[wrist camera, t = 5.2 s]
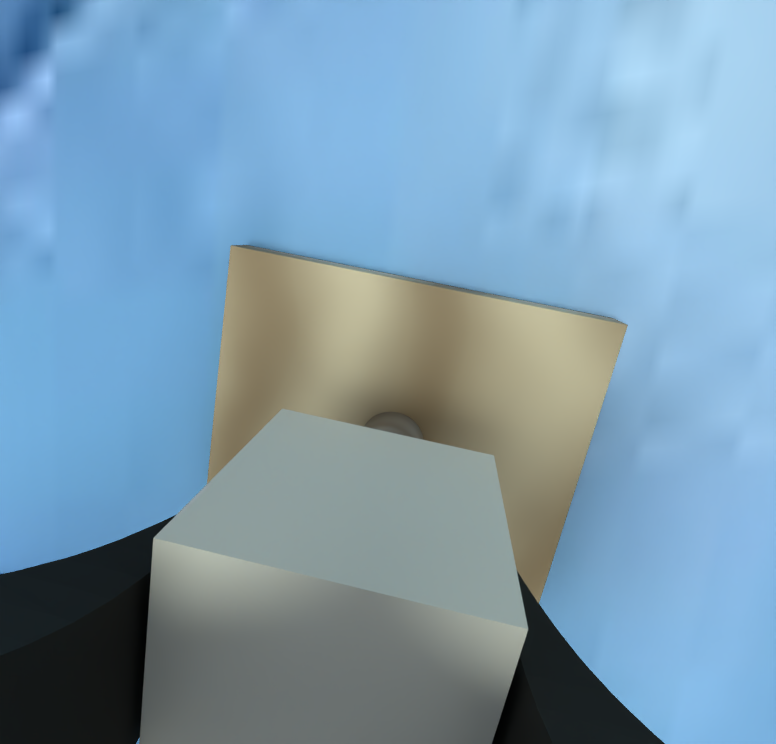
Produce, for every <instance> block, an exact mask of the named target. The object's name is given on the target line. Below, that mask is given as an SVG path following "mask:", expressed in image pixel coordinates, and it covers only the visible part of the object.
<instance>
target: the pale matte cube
mask: <svg viewBox="0 0 776 744" xmlns="http://www.w3.org/2000/svg"><path fill="white" fill-rule="evenodd" d="M527 632H528V625H527V620H526V615H525V610H524V605H523V600H522V595H521V590H520V585H519V580H518V575H517V570H516V565H515V560H514V554H513V549H512V544H511V539H510V534H509V529H508V524H507V519H506V514H505V509H504V504H503V499H502V494H501V489H500V484H499V479H498V474H497V469H496V464H495V459H494V455H490V454H485V453H481V452H476V451H472V450H467V449H463V448H458V447H454V446H449V445H445V444H440V443H436V442H431V441H427V440H422V439H418V438H413V437H409V436H404V435H400V434H395V433H390V432H386V431H381V430H377V429H372V428H368V427H363V426H359V425H354V424H350V423H345V422H341V421H336V420H332V419H327V418H323V417H318V416H314V415H309V414H305V413H300V412H295V411H291V410H286V409H281V410H280V411H279V412H278V413H277V414H276V415H275V416H274V417H273V418H272V419H271V420H270V421H269V422H268V423H267V424H266V425H265V426H264V427H263V428H262V429H261V430H260V431H259V433H258V434H257V435H256V436H255V437H254V438H253V439H252V440H251V441H250V442H249V443H248V444H247V445H246V446H245V447H244V448H243V449H242V450H241V451H240V452H239V453H238V454H237V455H236V456H235V457H234V458H233V459H232V460H231V461H230V462H229V463H228V464H227V465H226V466H225V467H224V468H223V469H222V470H221V471H220V472H219V473H218V474H217V475H216V476H215V477H214V478H213V479H212V480H211V481H210V482H209V483H208V484H207V485H206V486H205V487H204V488H203V489H202V490H201V491H200V492H199V493H198V494H197V495H196V496H195V497H194V498H193V499H192V500H191V501H190V502H189V503H188V504H187V505H186V506H185V507H184V508H183V509H182V510H181V511H180V512H179V513H178V514H177V515H176V516H175V517H174V518H173V519H172V520H171V521H170V522H169V523H168V524H167V525H166V526H165V527H164V528H163V529H162V530H161V531H160V532H159V533H158V534H157V535H156V536H155V537H154V538H153V550H152V565H151V580H150V594H149V609H148V624H147V639H146V653H145V668H144V683H143V698H142V712H141V727H140V742H139V744H492V742H493V739H494V735H495V732H496V729H497V726H498V723H499V720H500V717H501V713H502V710H503V707H504V704H505V701H506V698H507V695H508V691H509V688H510V685H511V682H512V679H513V676H514V673H515V669H516V666H517V663H518V660H519V657H520V654H521V651H522V647H523V644H524V641H525V638H526V635H527Z"/></svg>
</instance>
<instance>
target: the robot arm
mask: <svg viewBox="0 0 776 744" xmlns="http://www.w3.org/2000/svg"><path fill="white" fill-rule="evenodd" d="M175 516H176V515H175ZM175 516H173V517H171V518H169V519H167V520H164V521H162V522H160V523H158V524H156V525H153V526H151V527H149V528H146V529H144V530H141V531H139V532H137V533H134V534H132V535H130V536H127V537H125V538H123V539H120V540H118V541H115V542H112V543H110V544H107V545H104V546H101V547H99V548H96V549H93V550H90V551H87V552H84V553H81V554H78V555H74V556H71V557H68V558H64V559H61V560H57V561H53V562H49V563H45V564H42V565H38V566H34V567H30V568H26V569H23V570H19V571H15V572H10V573H5V574H1V575H0V744H136V742H137V740H138V739H139V737H140V727H141V712H142V698H143V683H144V668H145V653H146V639H147V624H148V609H149V594H150V580H151V565H152V550H153V538H154V537H155V536H156V535H157V534H158V533H159V532H160V531H161V530H162V529H163V528H164V527H165V526H166V525H167V524H168V523H169V522H170V521H171V520H172V519H173V518H174V517H175ZM517 575H518V580H519V585H520V590H521V595H522V600H523V605H524V610H525V615H526V620H527V625H528V632H527V635H526V638H525V641H524V644H523V647H522V651H521V654H520V657H519V660H518V663H517V666H516V669H515V673H514V676H513V679H512V682H511V685H510V688H509V691H508V695H507V698H506V701H505V704H504V707H503V710H502V713H501V717H500V720H499V723H498V726H497V729H496V732H495V735H494V739H493V742H492V744H665V743H663V742H662V741H661V740H660V739H659V738H658V737H657V736H656V735H654V734H653V733H652V732H651V731H650V730H649V729H648V728H647V727H646V726H645V725H644V724H643V723H642V722H641V721H639V720H638V719H637V718H636V717H635V716H634V715H633V714H632V713H631V712H630V711H629V710H628V709H627V708H626V707H625V706H624V705H623V704H622V703H621V702H620V701H619V700H618V699H617V698H616V697H615V696H614V695H613V694H612V693H611V692H610V691H609V690H608V689H607V688H606V687H605V686H604V684H603V683H602V682H601V681H600V680H599V679H598V678H597V677H596V676H595V675H594V674H593V672H592V671H591V670H590V669H589V668H588V667H587V666H586V665H585V663H584V662H583V661H582V660H581V659H580V658H579V656H578V655H577V654H576V653H575V651H574V650H573V649H572V648H571V646H570V645H569V644H568V643H567V641H566V640H565V639H564V638H563V636H562V635H561V634H560V633H559V631H558V630H557V628H556V627H555V626H554V624H553V623H552V622H551V620H550V619H549V618H548V616H547V615H546V613H545V612H544V611H543V609H542V608H541V606H540V605H539V603H538V602H537V600H536V599H535V597H534V596H533V594H532V593H531V591H530V590H529V588H528V587H527V585H526V584H525V582H524V581H523V579H522V578H521V576H520V574H519V573H518V571H517Z"/></svg>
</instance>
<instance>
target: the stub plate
mask: <svg viewBox="0 0 776 744" xmlns="http://www.w3.org/2000/svg"><path fill="white" fill-rule="evenodd" d="M627 326H628V325H626V324H624V323H622V322H620V321H618V320H616V319H614V318H609V317H604V316H599V315H594V314H589V313H584V312H579V311H574V310H569V309H564V308H559V307H554V306H549V305H544V304H539V303H534V302H529V301H524V300H519V299H514V298H509V297H504V296H499V295H494V294H489V293H484V292H479V291H474V290H469V289H464V288H459V287H454V286H449V285H444V284H439V283H434V282H429V281H424V280H419V279H414V278H409V277H404V276H399V275H394V274H389V273H384V272H379V271H374V270H369V269H364V268H359V267H354V266H349V265H344V264H339V263H334V262H329V261H324V260H319V259H314V258H309V257H304V256H299V255H294V254H289V253H284V252H279V251H274V250H269V249H264V248H259V247H254V246H249V245H231V249H230V259H229V269H228V279H227V289H226V299H225V309H224V319H223V329H222V340H221V350H220V360H219V370H218V380H217V390H216V400H215V410H214V420H213V430H212V440H211V450H210V460H209V470H208V480H207V484H208V483H209V482H210V481H211V480H212V479H213V478H214V477H215V476H216V475H217V474H218V473H219V472H220V471H221V470H222V469H223V468H224V467H225V466H226V465H227V464H228V463H229V462H230V461H231V460H232V459H233V458H234V457H235V456H236V455H237V454H238V453H239V452H240V451H241V450H242V449H243V448H244V447H245V446H246V445H247V444H248V443H249V442H250V441H251V440H252V439H253V438H254V437H255V436H256V435H257V434H258V433H259V431H260V430H261V429H262V428H263V427H264V426H265V425H266V424H267V423H268V422H269V421H270V420H271V419H272V418H273V417H274V416H275V415H276V414H277V413H278V412H279V411H280V410H281V409H286V410H291V411H295V412H300V413H305V414H309V415H314V416H318V417H323V418H327V419H332V420H336V421H341V422H345V423H350V424H354V425H359V426H363V427H368V428H372V429H377V430H381V431H386V432H390V433H395V434H400V435H404V436H409V437H413V438H418V439H422V440H427V441H431V442H436V443H440V444H445V445H449V446H454V447H458V448H463V449H467V450H472V451H476V452H481V453H485V454H490V455H494V459H495V464H496V469H497V474H498V479H499V484H500V489H501V494H502V499H503V504H504V509H505V514H506V519H507V524H508V529H509V534H510V539H511V544H512V549H513V554H514V560H515V565H516V570H517V571H518V573H519V574H520V576H521V578H522V579H523V581H524V582H525V584H526V585H527V587H528V588H529V590H530V591H531V593H532V594H533V596H534V597H535V599H536V600H537V602H538V603H539V601H540V598H541V595H542V592H543V589H544V586H545V582H546V579H547V576H548V573H549V570H550V567H551V564H552V561H553V557H554V554H555V551H556V548H557V545H558V542H559V539H560V535H561V532H562V529H563V526H564V523H565V520H566V517H567V514H568V510H569V507H570V504H571V501H572V498H573V495H574V492H575V488H576V485H577V482H578V479H579V476H580V473H581V470H582V467H583V463H584V460H585V457H586V454H587V451H588V448H589V445H590V441H591V438H592V435H593V432H594V429H595V426H596V423H597V420H598V416H599V413H600V410H601V407H602V404H603V401H604V398H605V394H606V391H607V388H608V385H609V382H610V379H611V376H612V373H613V369H614V366H615V363H616V360H617V357H618V354H619V351H620V347H621V344H622V341H623V338H624V335H625V332H626V329H627Z"/></svg>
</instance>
